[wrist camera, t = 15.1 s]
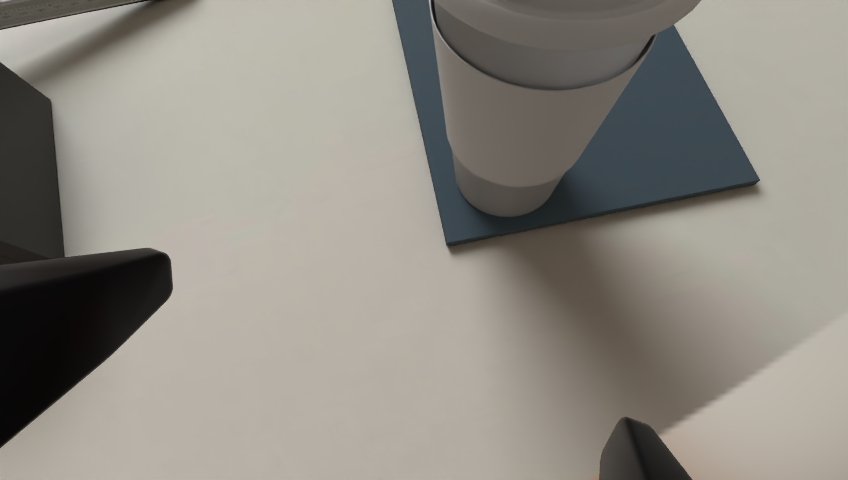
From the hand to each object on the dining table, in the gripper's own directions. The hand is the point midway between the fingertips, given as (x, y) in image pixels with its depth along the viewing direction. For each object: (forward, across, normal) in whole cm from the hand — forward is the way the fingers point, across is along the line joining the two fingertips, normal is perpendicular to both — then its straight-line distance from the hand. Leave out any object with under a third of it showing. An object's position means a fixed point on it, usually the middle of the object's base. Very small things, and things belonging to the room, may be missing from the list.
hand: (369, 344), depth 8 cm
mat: (+18, -1, -5) cm, 19 cm away
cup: (+14, -1, 0) cm, 14 cm away
